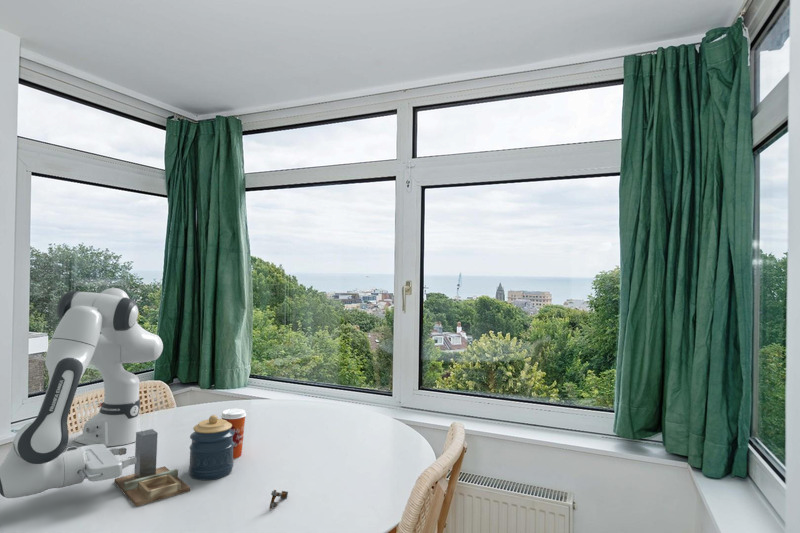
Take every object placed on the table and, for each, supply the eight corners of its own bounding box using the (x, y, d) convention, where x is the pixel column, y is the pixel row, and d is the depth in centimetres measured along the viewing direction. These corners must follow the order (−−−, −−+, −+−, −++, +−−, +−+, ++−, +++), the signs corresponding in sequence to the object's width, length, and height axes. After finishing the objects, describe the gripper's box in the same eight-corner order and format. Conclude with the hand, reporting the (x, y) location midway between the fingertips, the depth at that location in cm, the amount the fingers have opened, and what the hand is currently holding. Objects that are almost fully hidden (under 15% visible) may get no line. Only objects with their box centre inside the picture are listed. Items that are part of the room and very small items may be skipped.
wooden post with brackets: (265, 508, 124) (269, 489, 126) (278, 507, 131) (282, 490, 133) (272, 509, 124) (276, 490, 126) (284, 508, 131) (288, 490, 133)
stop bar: (139, 481, 138) (141, 436, 138) (134, 476, 141) (136, 432, 141) (155, 476, 141) (157, 432, 141) (150, 472, 144) (152, 429, 144)
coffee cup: (236, 461, 157) (238, 415, 157) (214, 458, 158) (216, 413, 159) (249, 452, 165) (251, 409, 165) (228, 450, 167) (229, 407, 167)
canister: (206, 484, 139) (208, 424, 139) (179, 474, 146) (181, 416, 146) (242, 470, 150) (244, 414, 150) (215, 461, 157) (217, 407, 157)
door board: (136, 506, 125) (136, 495, 125) (114, 482, 139) (114, 471, 139) (190, 490, 135) (190, 480, 135) (164, 469, 149) (165, 459, 149)
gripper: (83, 467, 121) (142, 454, 131) (66, 445, 136) (121, 435, 145) (82, 492, 121) (141, 477, 131) (65, 467, 136) (120, 455, 145)
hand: (130, 454), depth 138 cm, fingers open, 8 cm apart
